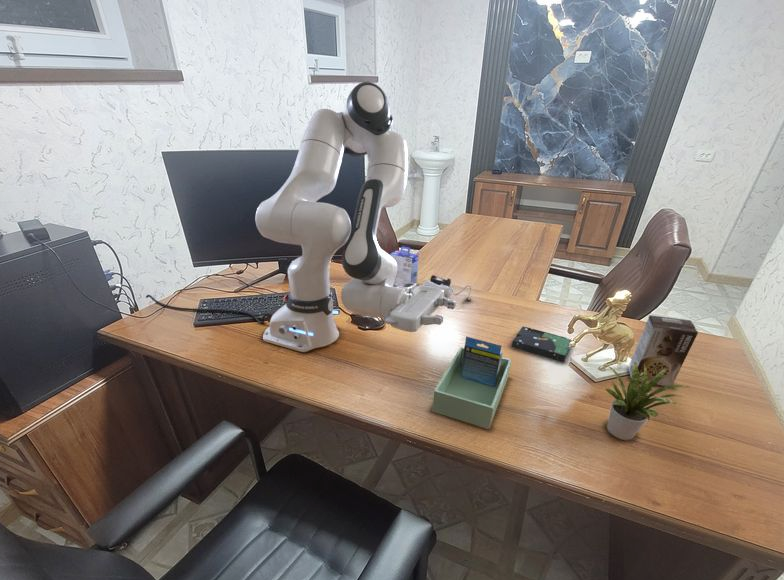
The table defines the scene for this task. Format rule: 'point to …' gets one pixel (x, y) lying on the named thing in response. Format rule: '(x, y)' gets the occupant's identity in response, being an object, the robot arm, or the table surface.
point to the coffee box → (663, 348)
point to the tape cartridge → (481, 361)
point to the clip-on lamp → (443, 285)
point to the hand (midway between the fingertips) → (448, 312)
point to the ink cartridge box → (405, 266)
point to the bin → (469, 394)
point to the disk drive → (542, 344)
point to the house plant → (635, 403)
